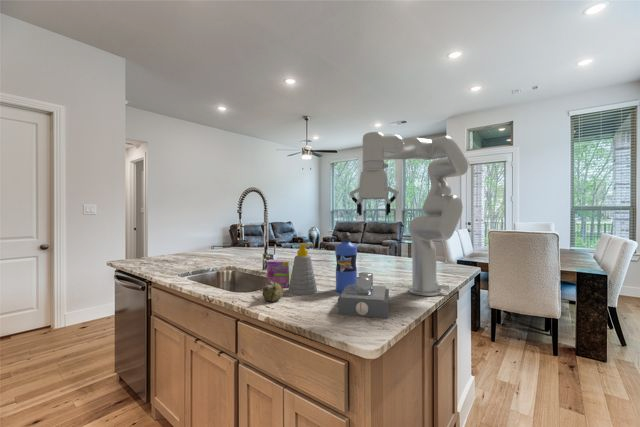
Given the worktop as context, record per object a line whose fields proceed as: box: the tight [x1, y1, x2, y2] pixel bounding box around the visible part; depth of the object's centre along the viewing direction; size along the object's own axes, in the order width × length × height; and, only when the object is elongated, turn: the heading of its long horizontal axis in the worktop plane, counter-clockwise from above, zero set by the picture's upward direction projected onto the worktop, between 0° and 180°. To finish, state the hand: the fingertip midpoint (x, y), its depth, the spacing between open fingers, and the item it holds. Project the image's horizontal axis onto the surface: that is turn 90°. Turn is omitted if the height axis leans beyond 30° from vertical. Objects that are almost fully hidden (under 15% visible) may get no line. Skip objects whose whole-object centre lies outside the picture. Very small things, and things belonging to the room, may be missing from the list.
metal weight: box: [358, 271, 374, 289], centre depth 104 cm, size 5×5×5 cm
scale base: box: [337, 287, 390, 319], centre depth 100 cm, size 16×17×5 cm
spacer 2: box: [356, 276, 371, 295], centre depth 96 cm, size 5×5×5 cm
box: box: [266, 259, 293, 289], centre depth 132 cm, size 10×6×12 cm, turn 80°
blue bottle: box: [334, 231, 358, 294], centre depth 123 cm, size 9×9×25 cm
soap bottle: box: [287, 243, 318, 296], centre depth 123 cm, size 12×12×20 cm
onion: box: [262, 280, 284, 302], centre depth 110 cm, size 8×8×8 cm
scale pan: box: [340, 284, 387, 301], centre depth 100 cm, size 14×14×1 cm
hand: (373, 215), depth 103 cm, fingers open, 9 cm apart
